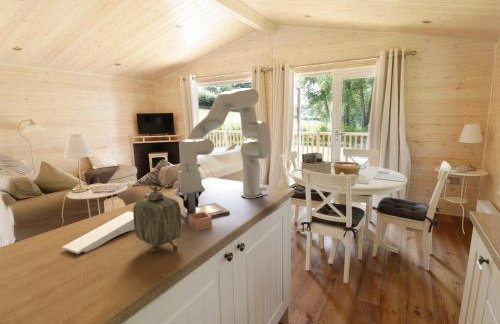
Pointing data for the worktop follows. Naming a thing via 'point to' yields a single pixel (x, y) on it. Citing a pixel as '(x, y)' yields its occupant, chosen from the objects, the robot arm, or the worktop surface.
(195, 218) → the orange square open box
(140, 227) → the tabletop clock
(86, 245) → the white wedge
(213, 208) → the writing board
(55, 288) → the worktop surface
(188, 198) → the marker
